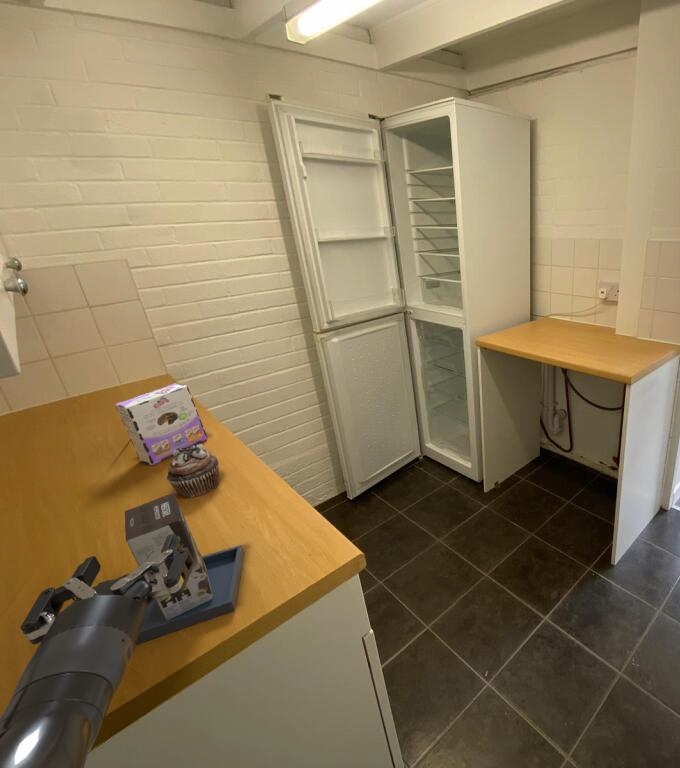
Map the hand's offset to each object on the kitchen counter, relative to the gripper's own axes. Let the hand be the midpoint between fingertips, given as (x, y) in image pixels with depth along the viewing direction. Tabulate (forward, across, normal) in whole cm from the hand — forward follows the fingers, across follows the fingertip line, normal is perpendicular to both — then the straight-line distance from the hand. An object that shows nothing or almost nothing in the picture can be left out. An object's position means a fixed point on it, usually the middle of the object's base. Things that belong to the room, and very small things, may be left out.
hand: (135, 550), depth 55 cm
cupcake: (+42, +4, +16) cm, 46 cm away
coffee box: (+8, 0, +16) cm, 18 cm away
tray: (+8, +1, +17) cm, 18 cm away
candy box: (+65, +13, +16) cm, 68 cm away
